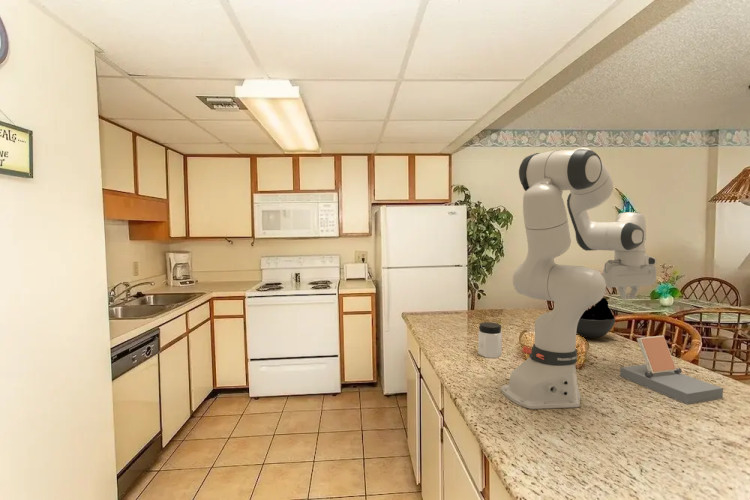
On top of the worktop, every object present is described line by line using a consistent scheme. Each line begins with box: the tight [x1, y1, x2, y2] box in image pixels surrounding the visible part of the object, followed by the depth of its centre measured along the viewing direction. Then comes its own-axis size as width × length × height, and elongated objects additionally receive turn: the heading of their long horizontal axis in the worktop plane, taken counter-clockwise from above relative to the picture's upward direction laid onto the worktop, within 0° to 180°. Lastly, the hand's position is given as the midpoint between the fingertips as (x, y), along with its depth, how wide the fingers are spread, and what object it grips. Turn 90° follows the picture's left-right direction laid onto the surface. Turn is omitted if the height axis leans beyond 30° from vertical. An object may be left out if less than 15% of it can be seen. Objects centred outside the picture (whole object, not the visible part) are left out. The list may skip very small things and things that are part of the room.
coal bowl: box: [576, 297, 616, 339], centre depth 171 cm, size 20×20×19 cm
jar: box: [477, 321, 503, 359], centre depth 147 cm, size 9×8×12 cm
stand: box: [619, 363, 724, 405], centre depth 117 cm, size 14×21×5 cm, turn 15°
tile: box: [636, 335, 677, 373], centre depth 120 cm, size 10×11×1 cm
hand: (628, 299), depth 130 cm, fingers open, 2 cm apart
